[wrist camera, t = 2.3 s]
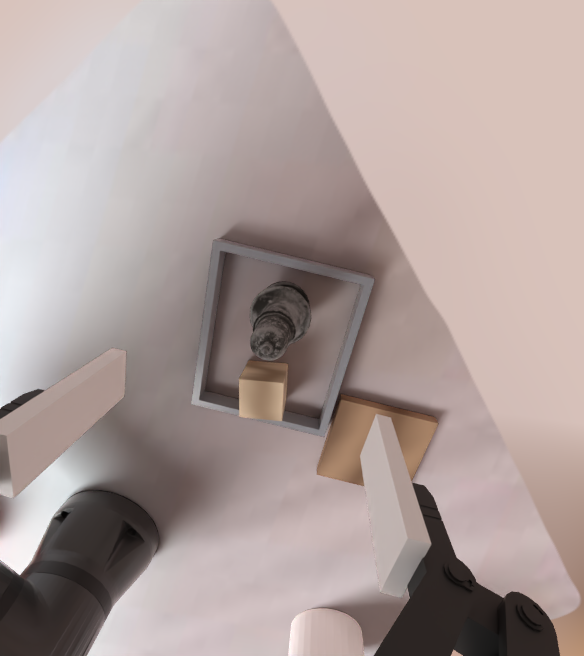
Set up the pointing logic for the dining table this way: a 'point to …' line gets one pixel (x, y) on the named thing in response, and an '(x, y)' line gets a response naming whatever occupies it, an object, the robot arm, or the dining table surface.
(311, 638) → the bottle
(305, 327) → the dark grey chess piece
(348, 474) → the light brown wooden board
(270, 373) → the beech block
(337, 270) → the tray
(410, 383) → the dining table surface
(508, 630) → the robot arm
